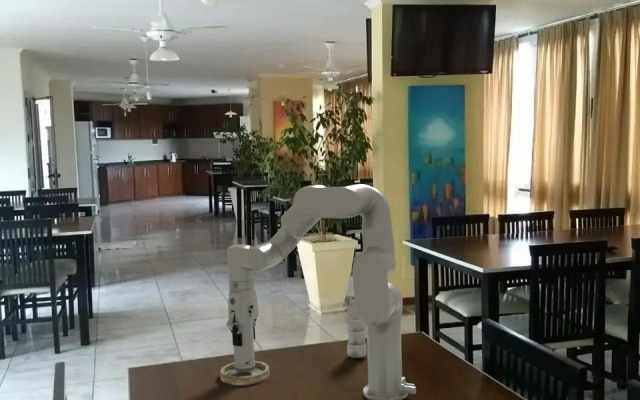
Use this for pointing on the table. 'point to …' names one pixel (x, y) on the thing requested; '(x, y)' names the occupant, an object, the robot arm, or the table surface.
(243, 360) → the travel mug
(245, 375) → the round tray
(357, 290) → the robot arm
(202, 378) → the table surface
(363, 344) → the plastic bottle
